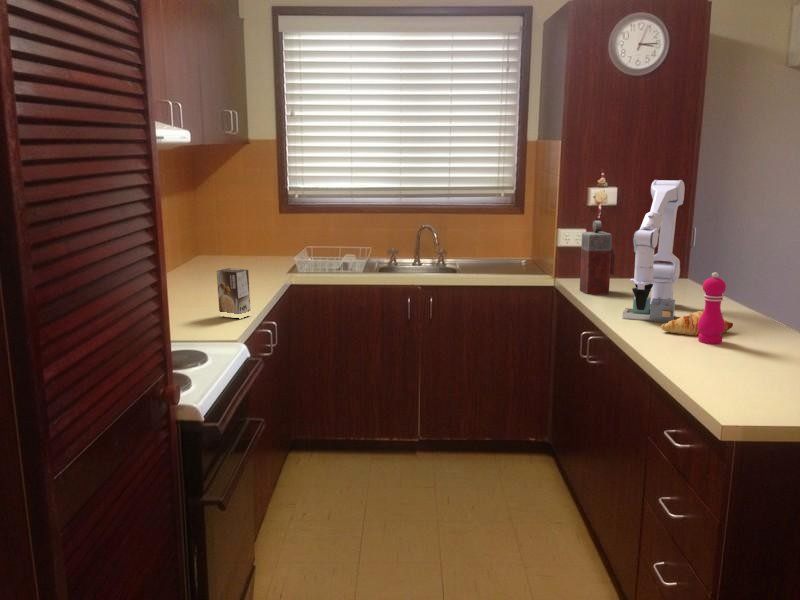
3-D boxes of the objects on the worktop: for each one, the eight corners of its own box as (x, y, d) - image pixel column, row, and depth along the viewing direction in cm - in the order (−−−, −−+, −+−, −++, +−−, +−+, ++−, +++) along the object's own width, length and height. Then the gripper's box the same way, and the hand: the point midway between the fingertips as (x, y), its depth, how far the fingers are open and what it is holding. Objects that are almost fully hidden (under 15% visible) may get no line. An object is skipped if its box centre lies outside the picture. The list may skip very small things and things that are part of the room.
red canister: (615, 294, 274) (618, 221, 268) (586, 294, 273) (589, 221, 267) (606, 289, 282) (610, 219, 277) (579, 290, 282) (582, 219, 276)
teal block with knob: (649, 313, 235) (650, 296, 234) (648, 316, 230) (649, 299, 229) (633, 312, 237) (634, 295, 236) (632, 315, 232) (633, 298, 231)
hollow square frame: (625, 312, 241) (626, 294, 240) (674, 315, 235) (675, 297, 234) (621, 319, 230) (622, 301, 229) (672, 323, 224) (673, 304, 223)
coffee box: (252, 316, 241) (249, 269, 237) (239, 320, 235) (236, 272, 232) (231, 313, 245) (228, 267, 242) (218, 317, 239) (215, 270, 236)
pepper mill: (700, 337, 207) (705, 269, 203) (726, 340, 203) (732, 271, 199) (692, 342, 202) (698, 272, 198) (719, 346, 197) (725, 275, 193)
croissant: (664, 346, 211) (670, 326, 206) (654, 324, 218) (659, 304, 213) (735, 344, 211) (742, 324, 206) (722, 321, 219) (729, 302, 214)
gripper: (633, 263, 239) (631, 302, 241) (628, 269, 226) (626, 310, 228) (655, 264, 236) (653, 304, 238) (652, 270, 223) (649, 312, 225)
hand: (641, 307), depth 233 cm, fingers open, 7 cm apart
